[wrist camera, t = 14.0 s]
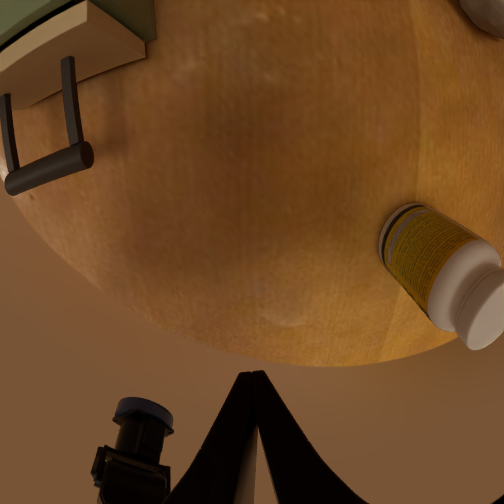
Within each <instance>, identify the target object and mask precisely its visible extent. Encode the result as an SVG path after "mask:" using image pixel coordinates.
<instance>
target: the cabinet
mask: <svg viewBox="0 0 504 504" xmlns="http://www.w3.org/2000/svg"><path fill="white" fill-rule="evenodd" d="M70 1H71V0H0V46H1V45H2V44H4V43H5V42H6V41H8V40H9V39H10V38H12V37H13V36H14V35H16V34H17V33H19V32H20V31H21V30H23V29H24V28H26V27H27V26H29V25H30V24H32V23H33V22H35V21H37V20H38V19H40V18H41V17H43V16H45V15H46V14H48V13H50V12H51V11H53V10H55V9H57V8H58V7H60V6H62V5H64V4H66V3H68V2H70ZM88 1H90V2H91V3H93V4H94V5H95V6H97V7H98V8H100V9H101V10H103V11H104V12H105V13H107V14H108V15H110V16H111V17H112V18H114V19H115V20H116V21H118V22H119V23H120V24H122V25H123V26H124V27H126V28H127V29H128V30H130V31H131V32H132V33H134V34H135V35H136V36H137V37H139V38H140V39H141V40H142V41H144V42H147V41H150V40H154V39H156V38H157V37H156V26H155V15H154V1H153V0H88Z"/></svg>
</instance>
